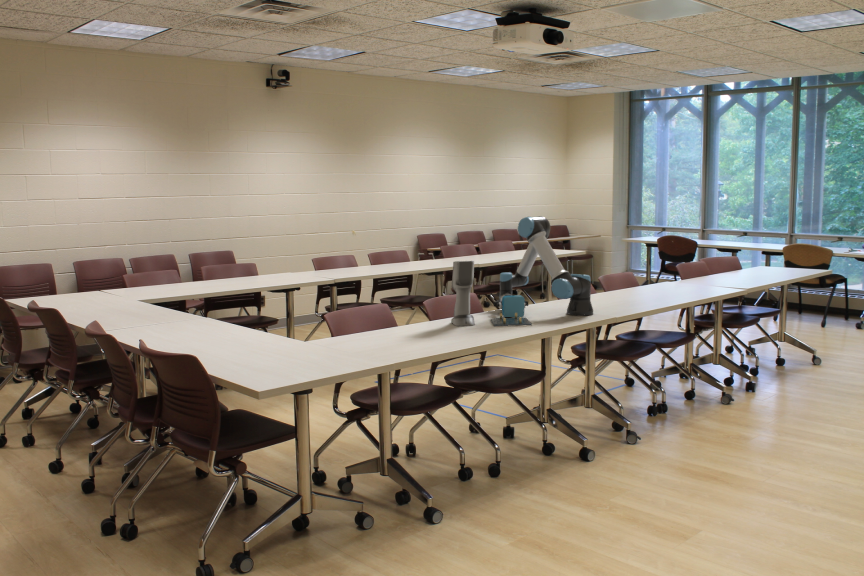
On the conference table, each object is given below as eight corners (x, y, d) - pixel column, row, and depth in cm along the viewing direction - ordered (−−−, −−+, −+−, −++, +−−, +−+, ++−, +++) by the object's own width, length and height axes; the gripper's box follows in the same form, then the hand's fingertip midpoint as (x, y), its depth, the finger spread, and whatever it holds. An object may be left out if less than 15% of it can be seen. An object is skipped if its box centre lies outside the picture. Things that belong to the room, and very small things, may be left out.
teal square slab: (521, 315, 420) (522, 294, 418) (524, 317, 416) (524, 296, 414) (501, 316, 418) (502, 295, 416) (503, 318, 414) (504, 297, 412)
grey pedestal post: (455, 326, 389) (454, 261, 385) (450, 322, 402) (449, 259, 397) (476, 325, 391) (476, 260, 387) (470, 321, 404) (470, 258, 399)
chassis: (526, 319, 408) (526, 312, 408) (531, 325, 390) (531, 318, 389) (490, 320, 408) (490, 313, 407) (494, 326, 389) (494, 318, 388)
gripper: (528, 306, 437) (534, 312, 416) (487, 307, 437) (491, 312, 416) (528, 293, 436) (534, 299, 415) (487, 294, 436) (490, 299, 415)
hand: (512, 306), depth 415 cm, fingers open, 13 cm apart
